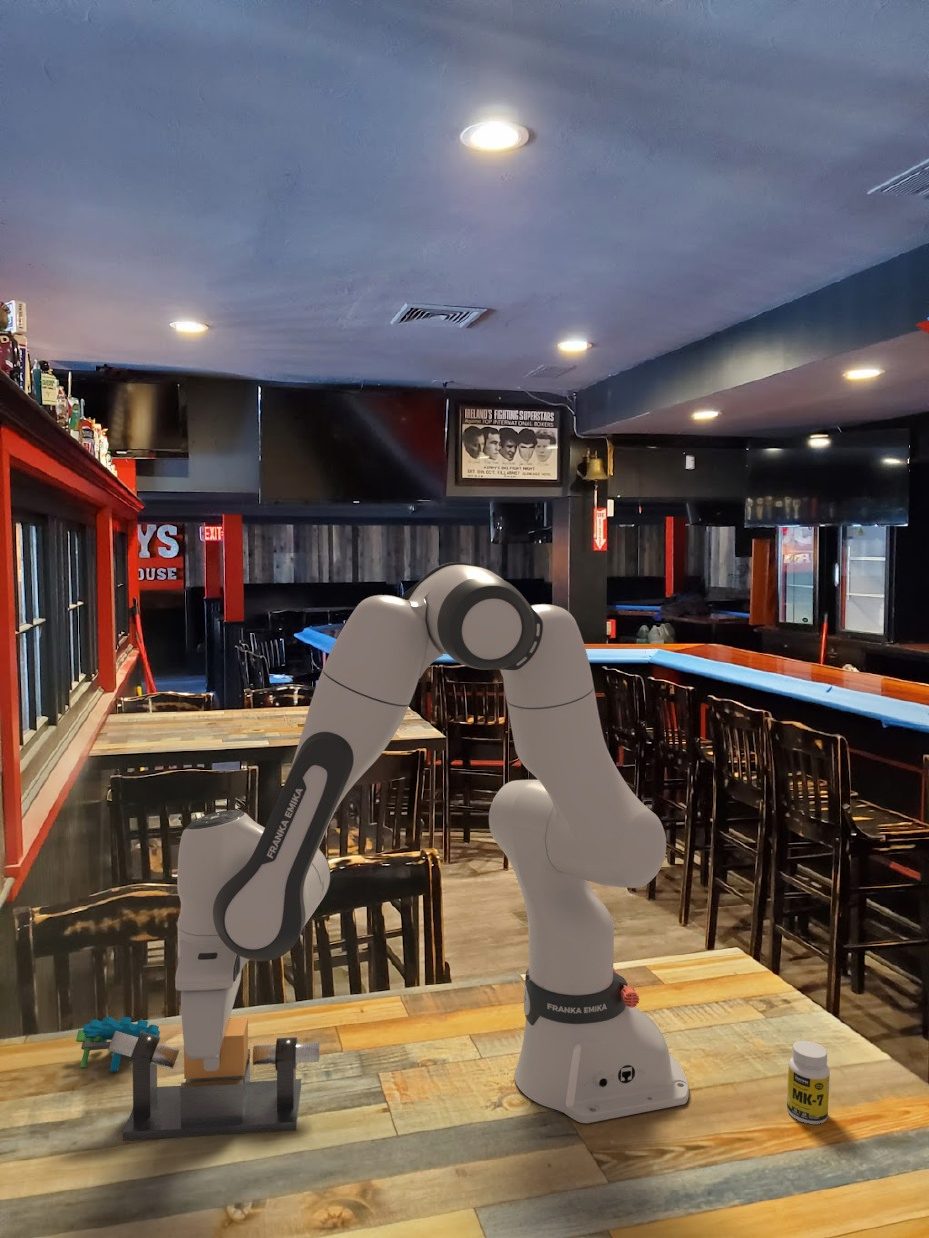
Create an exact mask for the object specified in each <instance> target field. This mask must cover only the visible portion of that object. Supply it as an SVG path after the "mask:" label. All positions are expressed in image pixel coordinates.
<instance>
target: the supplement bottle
mask: <svg viewBox="0 0 929 1238" xmlns="http://www.w3.org/2000/svg"><path fill="white" fill-rule="evenodd" d="M791 1055H792V1057H791V1058H790V1060H789V1062H788V1070H787V1071H788V1075H787V1098H786V1109H787V1112H788V1114H790V1115H789V1116H791V1117H792V1118H793V1119H795V1120H796V1119H797V1120H796V1121H799V1122H801V1123H803V1122H804V1123H803V1124H807V1123H809V1124H808V1125H821V1124H824V1123H825V1122H826V1121H827V1119H828V1115H829V1098H830V1097H829V1095H830V1092H829V1091H830V1075H831V1074H830V1071H831V1070H830V1067H829V1066H828V1052H827V1050H826V1048H825V1047H824V1046H822V1045H821V1044H819V1043H817V1042H813V1041H809V1040H799V1041H795V1042H794V1043H793V1045H792V1053H791ZM820 1123H821V1124H820Z"/></svg>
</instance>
